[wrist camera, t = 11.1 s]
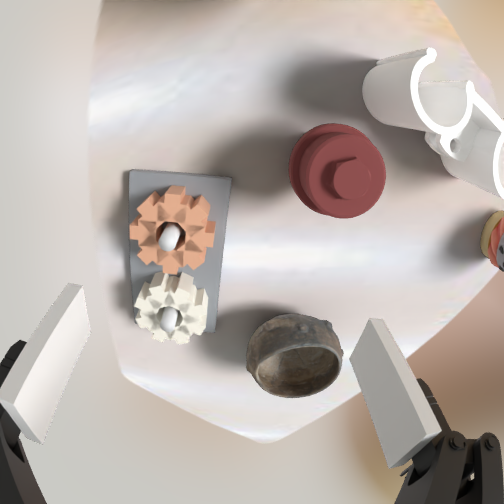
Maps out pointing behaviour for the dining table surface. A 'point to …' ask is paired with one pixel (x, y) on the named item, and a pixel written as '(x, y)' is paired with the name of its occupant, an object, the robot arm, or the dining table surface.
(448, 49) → the dining table surface
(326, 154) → the mechanical component
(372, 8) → the dining table surface
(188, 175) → the gear board
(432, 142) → the white joined open cylinders
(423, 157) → the dining table surface
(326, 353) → the bowl
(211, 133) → the dining table surface
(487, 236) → the cake
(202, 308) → the gear
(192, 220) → the gear
